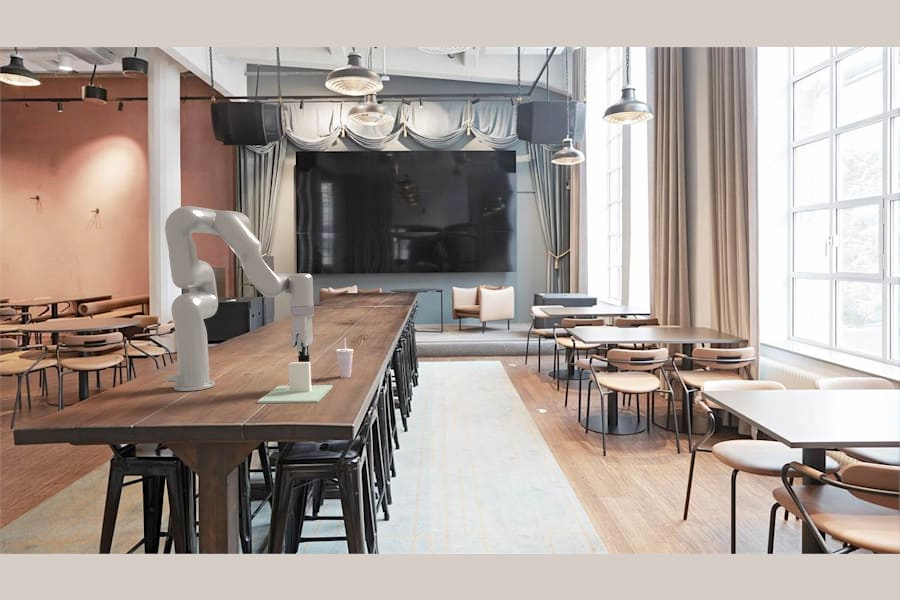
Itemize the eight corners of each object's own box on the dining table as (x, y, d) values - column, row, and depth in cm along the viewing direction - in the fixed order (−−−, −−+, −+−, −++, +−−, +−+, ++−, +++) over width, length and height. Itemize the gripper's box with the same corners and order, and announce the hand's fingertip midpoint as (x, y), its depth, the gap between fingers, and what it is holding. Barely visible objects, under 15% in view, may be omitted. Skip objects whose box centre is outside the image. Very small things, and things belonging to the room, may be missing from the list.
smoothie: (342, 379, 203) (340, 339, 202) (333, 376, 208) (331, 337, 207) (357, 376, 207) (356, 337, 206) (348, 373, 212) (347, 335, 211)
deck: (289, 391, 184) (288, 363, 183) (291, 389, 186) (290, 362, 185) (309, 391, 183) (308, 363, 183) (311, 389, 186) (310, 361, 185)
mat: (257, 403, 172) (257, 401, 172) (278, 387, 192) (278, 385, 192) (317, 402, 172) (317, 400, 172) (332, 386, 192) (332, 385, 192)
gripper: (297, 309, 197) (299, 363, 198) (283, 314, 182) (286, 372, 183) (319, 309, 196) (321, 362, 198) (307, 313, 182) (309, 371, 183)
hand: (304, 367), depth 191 cm, fingers closed
